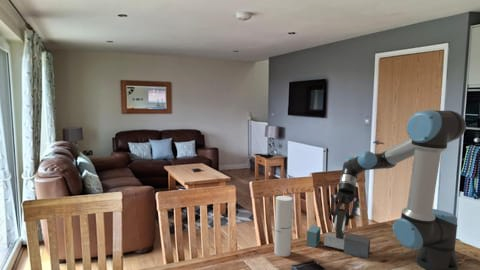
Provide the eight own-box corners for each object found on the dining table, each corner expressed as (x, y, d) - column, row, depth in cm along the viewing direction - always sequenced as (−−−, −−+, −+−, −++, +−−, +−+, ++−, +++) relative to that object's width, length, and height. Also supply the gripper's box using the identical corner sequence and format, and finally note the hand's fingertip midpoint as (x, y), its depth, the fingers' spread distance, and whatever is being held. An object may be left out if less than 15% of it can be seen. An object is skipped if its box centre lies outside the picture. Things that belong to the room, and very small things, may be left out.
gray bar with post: (366, 250, 144) (368, 212, 143) (365, 254, 140) (367, 216, 139) (326, 241, 153) (328, 206, 151) (324, 245, 149) (325, 208, 147)
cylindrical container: (290, 257, 139) (292, 201, 137) (273, 255, 141) (275, 199, 138) (290, 250, 146) (292, 196, 144) (275, 248, 148) (276, 195, 145)
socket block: (320, 240, 156) (320, 227, 156) (315, 247, 149) (316, 232, 148) (311, 239, 158) (312, 225, 158) (306, 245, 151) (307, 231, 150)
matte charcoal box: (369, 252, 145) (370, 237, 144) (367, 258, 139) (368, 243, 138) (346, 247, 150) (347, 232, 149) (343, 253, 144) (344, 238, 143)
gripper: (365, 192, 155) (358, 238, 142) (331, 187, 163) (321, 230, 150) (364, 184, 150) (357, 230, 137) (329, 179, 158) (319, 223, 145)
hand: (338, 230), depth 144 cm, fingers closed on gray bar with post, 3 cm apart
